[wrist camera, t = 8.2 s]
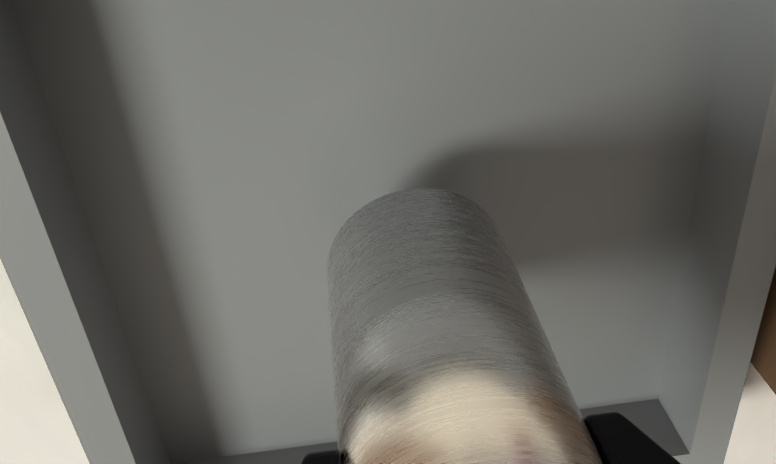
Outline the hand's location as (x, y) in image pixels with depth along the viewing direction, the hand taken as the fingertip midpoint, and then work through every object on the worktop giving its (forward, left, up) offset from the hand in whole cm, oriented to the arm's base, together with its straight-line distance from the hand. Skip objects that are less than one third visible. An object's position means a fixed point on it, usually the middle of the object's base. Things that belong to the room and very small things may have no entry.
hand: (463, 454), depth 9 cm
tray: (0, 0, -6) cm, 6 cm away
